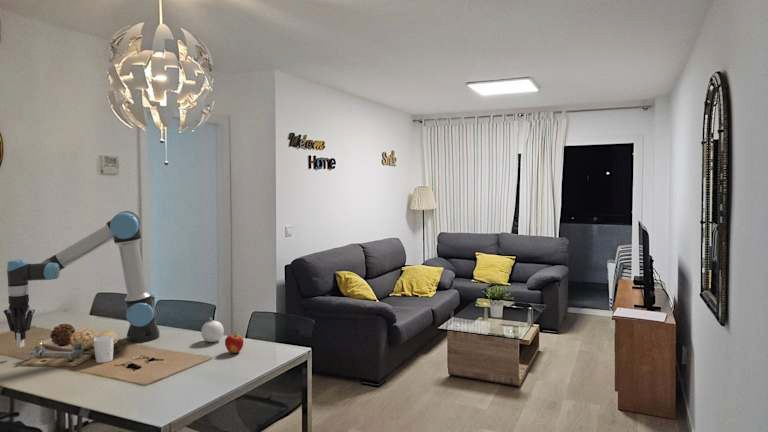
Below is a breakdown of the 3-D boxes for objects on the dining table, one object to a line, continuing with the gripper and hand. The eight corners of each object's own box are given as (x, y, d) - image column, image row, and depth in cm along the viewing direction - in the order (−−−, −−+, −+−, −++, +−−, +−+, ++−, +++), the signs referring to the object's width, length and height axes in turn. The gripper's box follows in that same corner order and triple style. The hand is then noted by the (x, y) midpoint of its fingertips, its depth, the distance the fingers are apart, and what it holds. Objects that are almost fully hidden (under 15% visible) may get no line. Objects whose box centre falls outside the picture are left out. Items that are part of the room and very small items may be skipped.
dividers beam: (84, 355, 242) (83, 342, 241) (72, 362, 233) (71, 349, 233) (40, 354, 243) (40, 342, 242) (27, 361, 234) (27, 348, 234)
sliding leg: (45, 354, 242) (44, 341, 242) (32, 360, 234) (31, 347, 234) (38, 354, 243) (38, 341, 242) (25, 360, 234) (24, 347, 234)
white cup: (118, 358, 241) (117, 336, 240) (105, 364, 234) (104, 341, 233) (104, 356, 243) (103, 335, 242) (90, 362, 236) (89, 340, 235)
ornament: (197, 343, 262) (197, 319, 261) (209, 337, 272) (208, 314, 271) (216, 345, 259) (216, 321, 258) (227, 339, 269) (227, 315, 268)
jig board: (91, 357, 243) (91, 354, 243) (74, 366, 231) (74, 364, 231) (41, 356, 244) (41, 353, 244) (22, 365, 232) (22, 363, 232)
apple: (234, 348, 254) (234, 328, 254) (247, 351, 250) (246, 330, 249) (221, 353, 247) (221, 332, 247) (234, 356, 243) (233, 335, 243)
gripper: (38, 292, 242) (40, 344, 244) (10, 292, 243) (12, 343, 245) (26, 296, 235) (29, 349, 237) (-3, 296, 235) (0, 348, 237)
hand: (20, 346), depth 241 cm, fingers closed
